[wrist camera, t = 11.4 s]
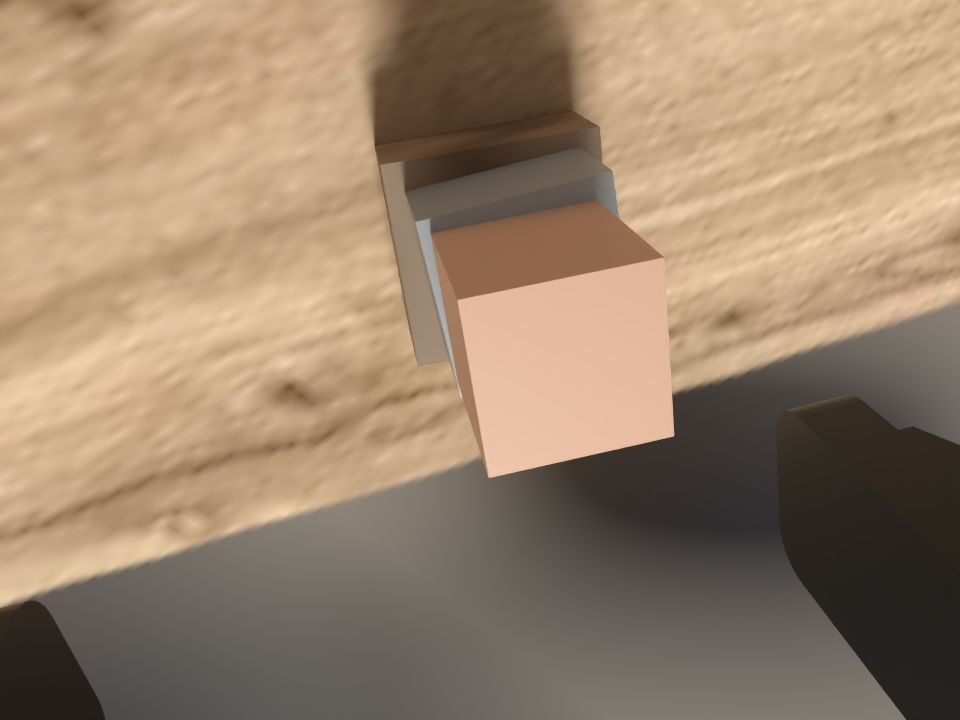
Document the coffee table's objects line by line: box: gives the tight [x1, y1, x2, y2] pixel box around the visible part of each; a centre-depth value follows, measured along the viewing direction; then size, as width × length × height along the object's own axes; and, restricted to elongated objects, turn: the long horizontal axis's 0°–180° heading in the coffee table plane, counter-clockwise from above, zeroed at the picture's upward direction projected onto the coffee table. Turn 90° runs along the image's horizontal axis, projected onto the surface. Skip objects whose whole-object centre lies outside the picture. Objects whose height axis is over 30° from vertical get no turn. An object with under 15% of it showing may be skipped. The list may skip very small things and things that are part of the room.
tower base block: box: [375, 111, 602, 367], centre depth 33 cm, size 8×8×4 cm
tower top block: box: [405, 147, 619, 397], centre depth 30 cm, size 6×6×4 cm
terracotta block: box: [430, 200, 674, 478], centre depth 26 cm, size 6×6×6 cm
